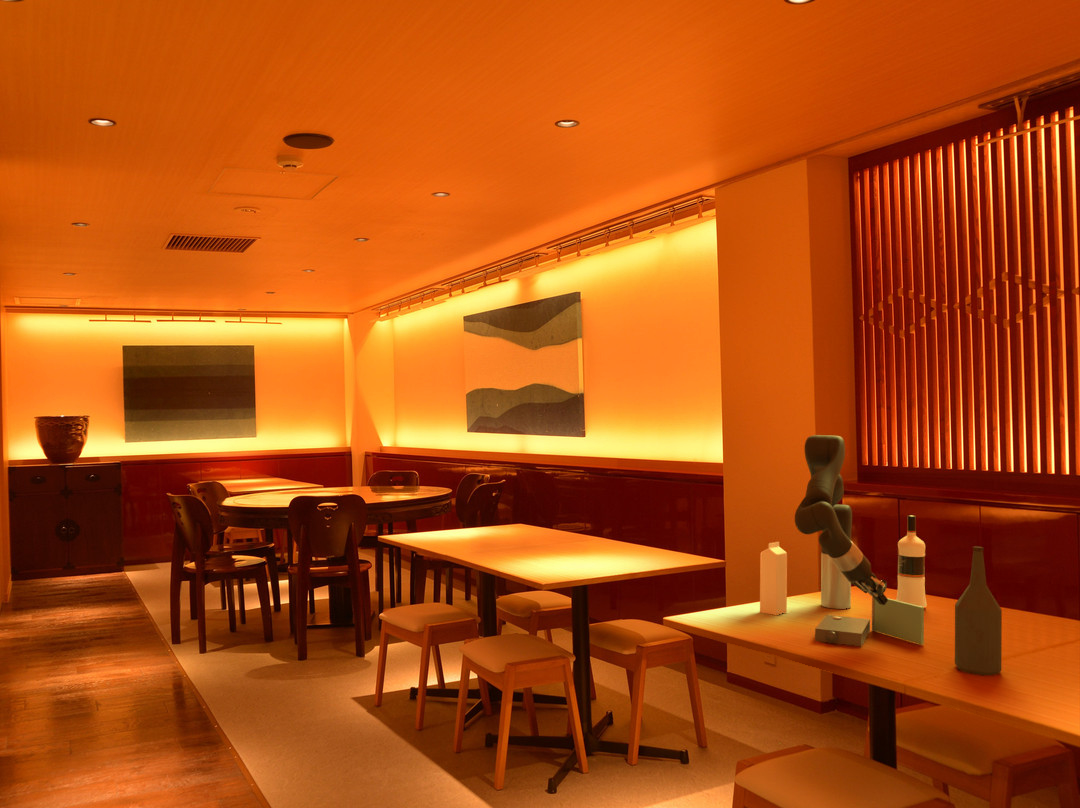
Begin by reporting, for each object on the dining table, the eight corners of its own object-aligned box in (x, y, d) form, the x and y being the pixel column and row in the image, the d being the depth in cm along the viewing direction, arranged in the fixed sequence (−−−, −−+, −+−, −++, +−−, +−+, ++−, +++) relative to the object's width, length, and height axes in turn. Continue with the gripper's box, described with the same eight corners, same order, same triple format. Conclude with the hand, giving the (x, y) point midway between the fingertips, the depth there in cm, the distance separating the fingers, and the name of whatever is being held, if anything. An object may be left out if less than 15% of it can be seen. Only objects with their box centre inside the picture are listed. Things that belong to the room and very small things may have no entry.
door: (870, 630, 258) (871, 594, 258) (874, 630, 258) (874, 594, 258) (920, 645, 241) (921, 606, 241) (924, 645, 241) (924, 606, 242)
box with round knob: (826, 626, 262) (826, 613, 262) (870, 631, 257) (870, 617, 257) (814, 642, 243) (814, 628, 243) (860, 648, 238) (860, 633, 238)
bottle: (1004, 669, 219) (1004, 546, 219) (998, 678, 211) (999, 550, 211) (958, 662, 225) (958, 542, 225) (951, 671, 216) (951, 546, 217)
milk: (786, 613, 281) (788, 542, 281) (776, 615, 277) (777, 544, 277) (769, 609, 285) (771, 540, 286) (759, 612, 281) (760, 542, 282)
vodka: (923, 611, 285) (923, 517, 286) (892, 607, 291) (893, 515, 291) (929, 607, 293) (929, 515, 294) (899, 603, 298) (900, 513, 299)
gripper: (875, 553, 235) (910, 596, 240) (839, 546, 247) (873, 587, 252) (859, 574, 233) (895, 617, 238) (824, 566, 245) (859, 608, 250)
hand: (884, 602), depth 245 cm, fingers closed
